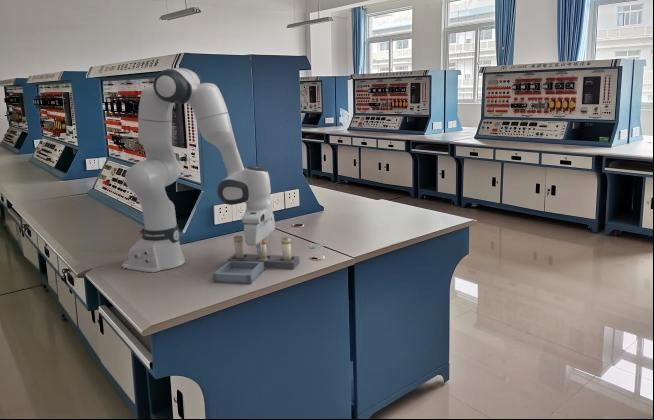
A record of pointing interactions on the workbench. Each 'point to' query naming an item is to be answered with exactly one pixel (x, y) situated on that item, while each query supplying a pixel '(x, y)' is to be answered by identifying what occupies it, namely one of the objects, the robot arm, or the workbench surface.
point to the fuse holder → (270, 261)
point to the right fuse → (286, 248)
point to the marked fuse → (264, 253)
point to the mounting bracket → (316, 246)
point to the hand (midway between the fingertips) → (262, 250)
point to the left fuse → (239, 247)
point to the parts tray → (239, 272)
